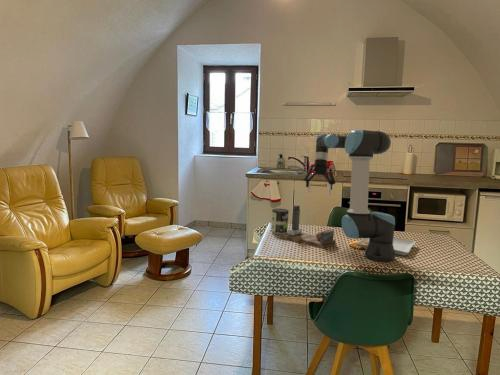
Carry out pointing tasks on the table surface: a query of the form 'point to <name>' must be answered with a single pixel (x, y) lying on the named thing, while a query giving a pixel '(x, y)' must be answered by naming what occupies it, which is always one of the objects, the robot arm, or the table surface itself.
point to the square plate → (395, 245)
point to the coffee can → (279, 221)
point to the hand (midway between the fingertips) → (318, 194)
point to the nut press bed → (313, 238)
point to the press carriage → (295, 222)
